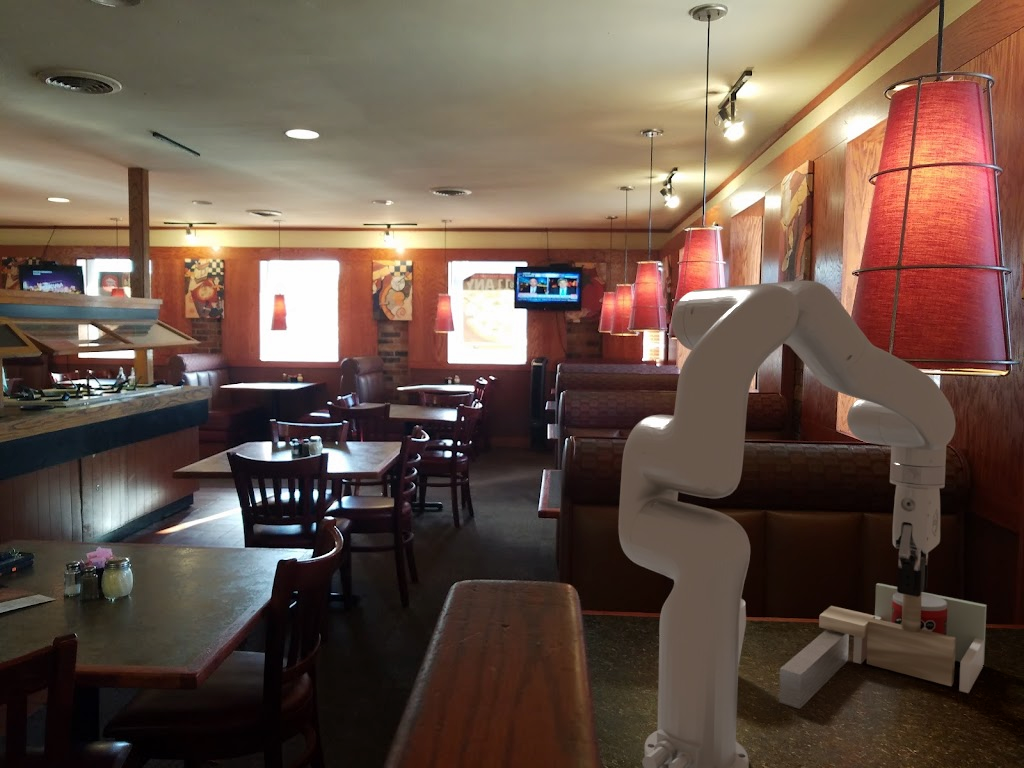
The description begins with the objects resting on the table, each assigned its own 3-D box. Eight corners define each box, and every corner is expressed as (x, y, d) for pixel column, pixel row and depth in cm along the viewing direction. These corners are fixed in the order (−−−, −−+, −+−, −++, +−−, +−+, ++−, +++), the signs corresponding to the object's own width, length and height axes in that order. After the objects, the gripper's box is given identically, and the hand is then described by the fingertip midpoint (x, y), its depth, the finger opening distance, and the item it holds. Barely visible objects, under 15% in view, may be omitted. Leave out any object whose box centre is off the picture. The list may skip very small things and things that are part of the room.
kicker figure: (948, 691, 111) (953, 569, 110) (818, 655, 124) (821, 545, 123) (956, 677, 116) (961, 560, 115) (830, 644, 128) (833, 538, 127)
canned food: (879, 660, 123) (881, 594, 123) (913, 652, 127) (915, 588, 126) (921, 679, 116) (924, 609, 116) (955, 670, 120) (958, 603, 119)
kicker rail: (799, 708, 106) (800, 674, 106) (778, 702, 108) (780, 668, 108) (847, 660, 123) (849, 630, 123) (829, 655, 125) (830, 626, 125)
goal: (968, 693, 112) (971, 627, 111) (853, 661, 122) (855, 602, 122) (983, 665, 122) (986, 604, 121) (875, 638, 132) (877, 583, 132)
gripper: (932, 485, 107) (926, 610, 108) (955, 471, 120) (950, 584, 121) (876, 478, 112) (871, 598, 113) (904, 466, 125) (899, 574, 125)
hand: (912, 590), depth 117 cm, fingers closed on kicker figure, 3 cm apart
